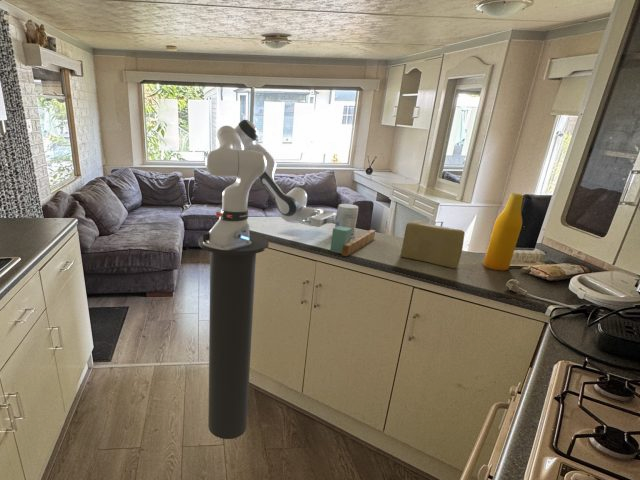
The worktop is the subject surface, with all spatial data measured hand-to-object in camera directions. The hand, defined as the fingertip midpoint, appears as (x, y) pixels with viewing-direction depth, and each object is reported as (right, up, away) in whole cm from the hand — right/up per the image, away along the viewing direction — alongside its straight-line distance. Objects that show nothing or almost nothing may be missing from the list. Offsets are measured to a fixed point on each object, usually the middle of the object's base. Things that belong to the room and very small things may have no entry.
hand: (336, 221), depth 208 cm
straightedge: (+6, -14, -16) cm, 23 cm away
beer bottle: (+56, -25, -35) cm, 71 cm away
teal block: (-4, -17, -23) cm, 29 cm away
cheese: (+31, -22, -32) cm, 50 cm away
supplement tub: (+3, -7, 0) cm, 8 cm away
